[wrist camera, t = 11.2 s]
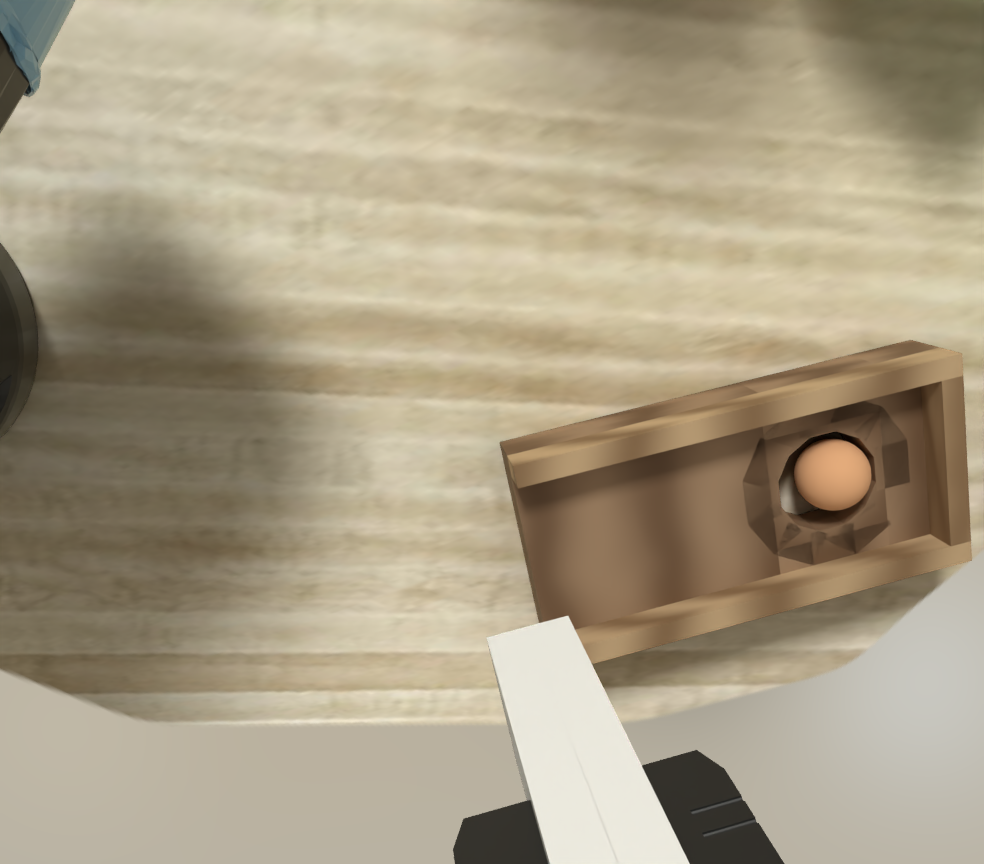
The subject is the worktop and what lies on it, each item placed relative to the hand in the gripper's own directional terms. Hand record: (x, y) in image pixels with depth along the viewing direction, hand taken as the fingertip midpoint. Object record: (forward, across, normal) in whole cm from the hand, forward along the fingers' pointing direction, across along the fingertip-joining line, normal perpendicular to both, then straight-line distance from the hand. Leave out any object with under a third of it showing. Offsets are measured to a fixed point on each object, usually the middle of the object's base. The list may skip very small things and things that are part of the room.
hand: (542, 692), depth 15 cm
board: (+30, +15, -11) cm, 36 cm away
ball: (+28, +21, -11) cm, 37 cm away
